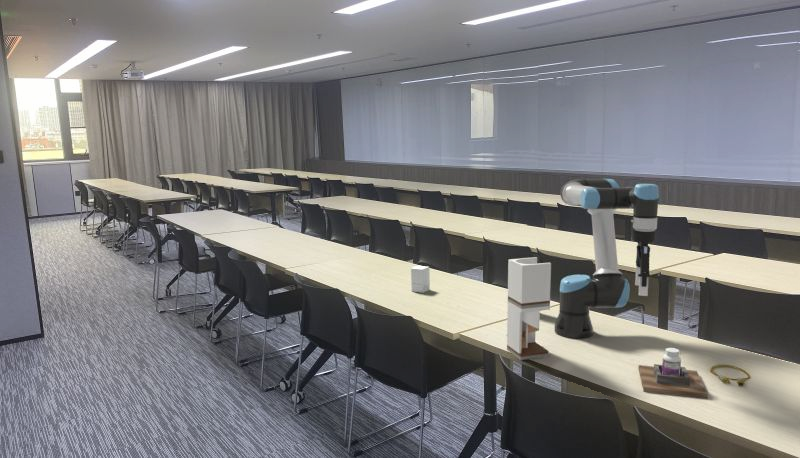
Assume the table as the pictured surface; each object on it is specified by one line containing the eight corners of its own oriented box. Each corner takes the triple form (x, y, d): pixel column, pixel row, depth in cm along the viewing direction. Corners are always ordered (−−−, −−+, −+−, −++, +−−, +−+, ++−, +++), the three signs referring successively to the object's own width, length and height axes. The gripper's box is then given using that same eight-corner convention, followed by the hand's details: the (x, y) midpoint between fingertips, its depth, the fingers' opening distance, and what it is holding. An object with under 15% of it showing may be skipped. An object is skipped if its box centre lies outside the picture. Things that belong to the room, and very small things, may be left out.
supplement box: (430, 289, 303) (430, 266, 301) (423, 293, 296) (423, 269, 294) (418, 288, 307) (417, 265, 305) (411, 291, 300) (410, 267, 298)
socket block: (638, 369, 197) (639, 358, 196) (696, 374, 192) (697, 363, 191) (643, 391, 180) (644, 379, 180) (707, 398, 175) (708, 386, 174)
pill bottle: (664, 373, 190) (666, 345, 188) (682, 377, 186) (683, 349, 185) (659, 378, 186) (661, 350, 184) (676, 383, 182) (678, 354, 181)
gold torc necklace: (700, 378, 190) (701, 372, 190) (717, 364, 201) (718, 359, 200) (741, 389, 181) (742, 383, 181) (757, 375, 192) (757, 369, 192)
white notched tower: (520, 360, 207) (522, 265, 201) (506, 349, 217) (508, 259, 211) (548, 356, 210) (551, 263, 204) (533, 346, 220) (535, 257, 214)
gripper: (629, 223, 207) (626, 280, 210) (635, 235, 183) (632, 299, 187) (652, 224, 205) (649, 282, 208) (661, 236, 181) (657, 300, 185)
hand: (641, 290), depth 198 cm, fingers open, 13 cm apart
